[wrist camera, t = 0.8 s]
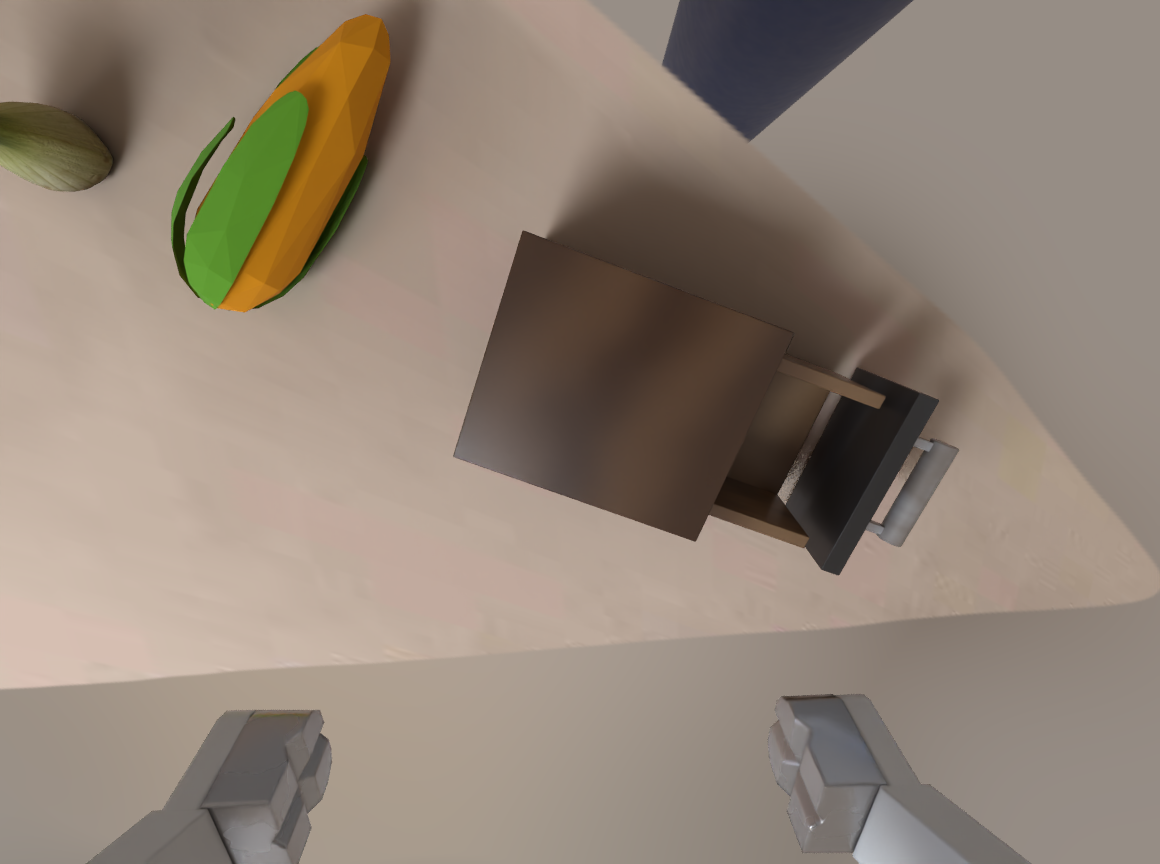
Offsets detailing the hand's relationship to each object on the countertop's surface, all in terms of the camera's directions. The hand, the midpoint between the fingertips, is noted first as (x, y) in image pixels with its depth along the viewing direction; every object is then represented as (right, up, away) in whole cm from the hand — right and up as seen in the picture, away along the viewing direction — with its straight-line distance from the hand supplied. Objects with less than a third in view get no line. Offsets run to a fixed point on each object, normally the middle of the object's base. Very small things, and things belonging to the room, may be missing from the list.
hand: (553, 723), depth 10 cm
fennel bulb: (-33, +24, +27) cm, 48 cm away
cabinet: (+3, +10, +29) cm, 31 cm away
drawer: (+14, +6, +29) cm, 33 cm away
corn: (-17, +22, +27) cm, 39 cm away
